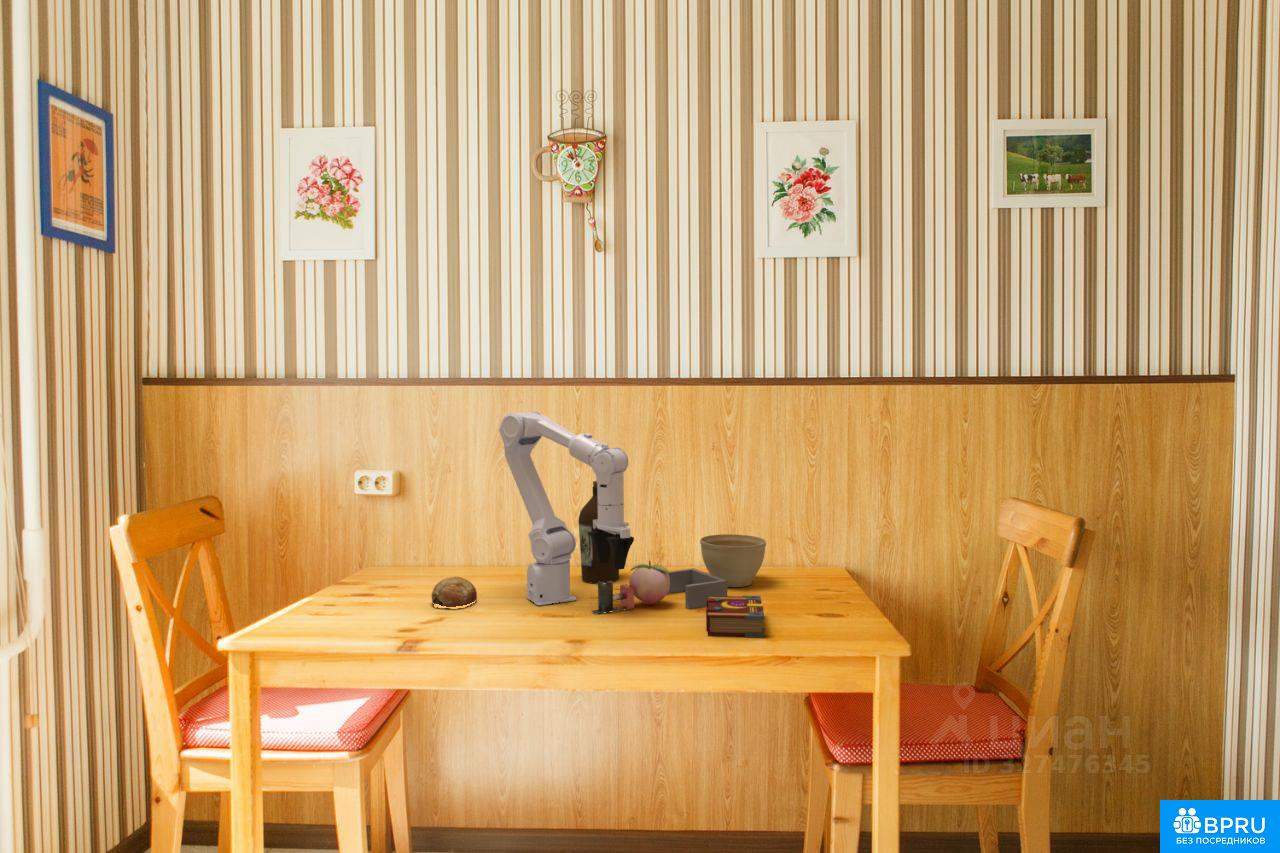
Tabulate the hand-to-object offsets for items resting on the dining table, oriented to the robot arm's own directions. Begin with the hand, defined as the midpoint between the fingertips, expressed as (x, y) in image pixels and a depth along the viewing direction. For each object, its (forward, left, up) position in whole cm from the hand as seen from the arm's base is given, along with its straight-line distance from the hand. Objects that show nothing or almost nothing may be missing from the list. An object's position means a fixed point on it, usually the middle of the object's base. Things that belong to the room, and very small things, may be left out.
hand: (611, 565), depth 170 cm
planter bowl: (+36, +6, -10) cm, 38 cm away
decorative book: (+17, -23, -10) cm, 30 cm away
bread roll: (-29, +22, -10) cm, 38 cm away
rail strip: (-1, -1, -10) cm, 10 cm away
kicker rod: (0, -2, -9) cm, 9 cm away
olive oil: (+9, +26, -10) cm, 29 cm away
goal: (+19, -1, -10) cm, 21 cm away
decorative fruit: (+9, -1, -10) cm, 13 cm away
